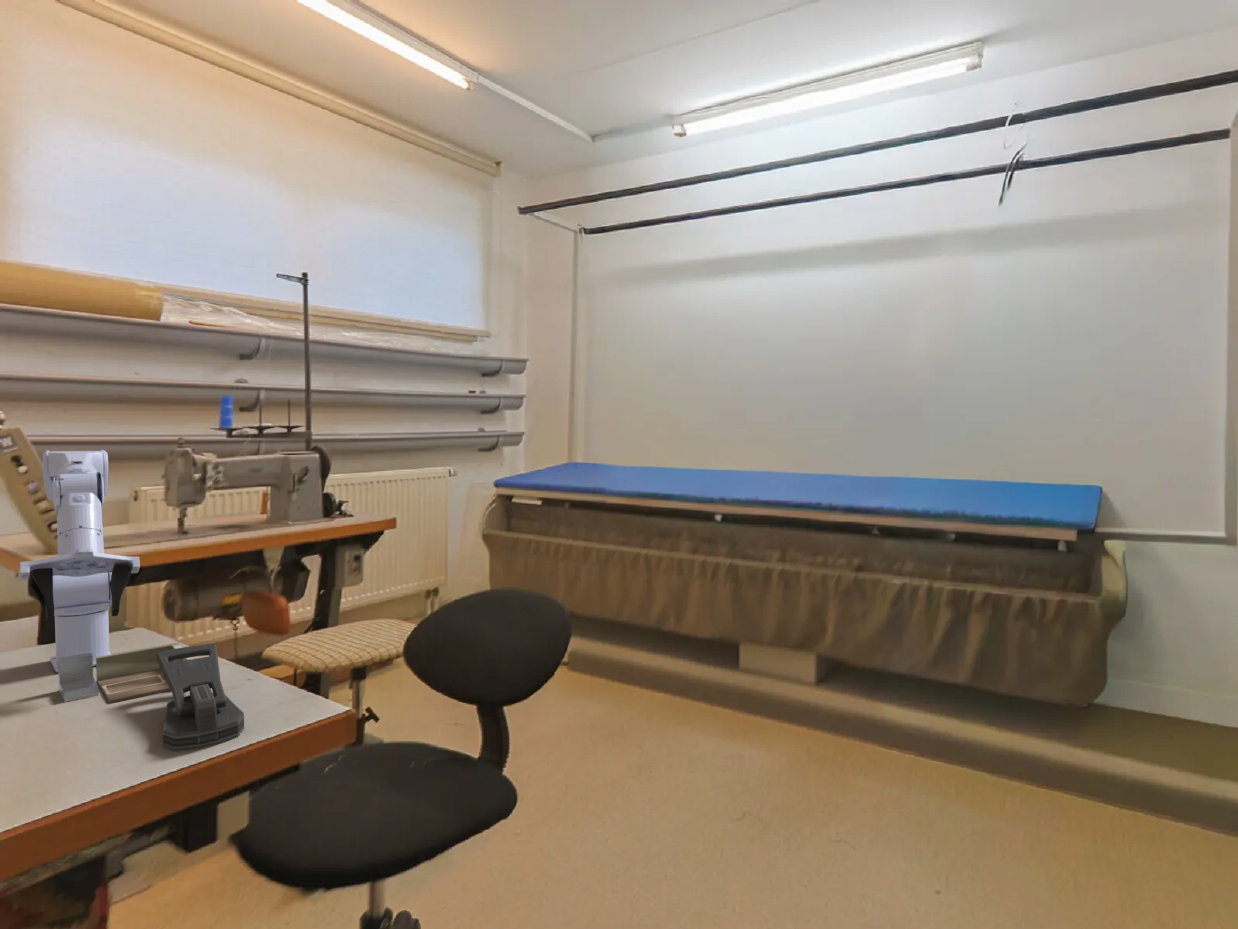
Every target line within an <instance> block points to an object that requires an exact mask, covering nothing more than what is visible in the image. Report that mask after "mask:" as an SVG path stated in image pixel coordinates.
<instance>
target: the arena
mask: <svg viewBox="0 0 1238 929" xmlns="http://www.w3.org/2000/svg"><path fill="white" fill-rule="evenodd" d="M177 648H183V646H181V645H180V643H178V642H174V643H169V644H165V645H164V644H163V645H158V646H153V647H152V646H151V647H145V648H139V649H135V650H130V651H122V652H117V653H111V655H105V656H99V657H96V666H95V667H96V668H95V670H96V683H97V684H98V687H99V688H100V690H101V691H102V693H103V695H104V696H105V698H106V699H107V701H108V702H109V704H114V703H119V702H122V701H123V702H124V701H128V700H133V699H136V698H142V697H146V696H151V695H157V694H160V693H166V692H169V691H170V692H171V690H170V687H169V685H168V683H167V681H166V678H165V676H164V674H163V672H162V670H161V668H160V666H159V663H158V661H157V659H156V654H157V653H159V652H163V651H167V650H172V649H177ZM191 659H196V657H190V658H183V659H177V660H173V661H169V662H170V663H172V662H179V661H185V660H191Z"/></svg>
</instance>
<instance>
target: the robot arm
mask: <svg viewBox="0 0 1238 929" xmlns="http://www.w3.org/2000/svg"><path fill="white" fill-rule="evenodd" d="M108 454H109V453H108V452H107V451H105V449H100V450H61V451H60V450H52V451H51V450H45V451H44V452H43V453H42V475H43V477H42V478H43V482H44V484H43V485H44V493H45V494H46V498H47V499H49V500H50V501H52V503H53V505H54V510H55V516H56V517H55V518H56V527H57V528H56V530H57V531H56V532H57V533H56V536H57V537H56V538H57V555H56V556H51V557H46V558H41V559H36V560H30V561H29V560H27V561H20V562H19V570H18V576H19V577H18V578H19V581H20V580H21V581H23V580H28V588H29V590H30V592H31V593H32V594H33V595H34V596H35V598H36V599H37V600H38V602H39V604H40V606H41V608H42V610H43V612H44V614H45V619H46V623H53V622H54V631H55V632H54V633H55V637H54V638H55V655H54V656H50V658H49V661H50V663H51V665H52V667H53V670H54V671H55V672H56V673H59V672H58V658H62V657H68V656H74V655H80V654H86V653H92V656H93V667H96V657H99V656H105V655H111V654H112V652H111V651H110V629H109V627H110V626H109V623H110V622H109V610H111V611H110V612H111V617H117V616H119V613H120V604H121V599H122V595H123V593H124V591H125V589H126V587H127V585H128V583H129V581H130V578H131V575H132V574H138V573H139V572H140V568H141V564H140V563H141V562H140V556H128V555H127V556H125V555H117V554H112V553H111V554H110V553H105V544H104V527H103V506H104V503H105V497H106V496H107V491H108V490H109V481H108V480H109V455H108ZM110 606H111V608H110Z"/></svg>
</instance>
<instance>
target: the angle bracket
mask: <svg viewBox="0 0 1238 929" xmlns="http://www.w3.org/2000/svg"><path fill="white" fill-rule="evenodd" d="M57 673H58V692H59V691H60V692H59V694H60V696H61V699H62V701H63V702H64V703H68V702H72V701H77V700H83V699H87V698H92V697H96V696H99V684H98V683H97V680H95V678H94V666H93V656H92V653H86V654H80V655H74V656H68V657H62V658H58V672H57Z"/></svg>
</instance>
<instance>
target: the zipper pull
mask: <svg viewBox="0 0 1238 929" xmlns="http://www.w3.org/2000/svg"><path fill="white" fill-rule="evenodd" d="M217 646H218V645H217V644H215V643H214V644H213V643H212V644H211V643H210V644H198V645H191V646H185V647H183V646H182V647H183V648H177V649H172V650H167V651H163V652H159V653H157V654H156V659H157V661H158V663H159V666H160V668H161V670H162V672H163V674H164V676H165V678H166V681H167V683H168V685H169V687H170V692H171V695H172V699H173V700H172V701H169V702H167V704H166V707H165V708H166V710H165V715H164V721H163V722H164V723H163V727H162V747H164V748H166V749H168V750H171V751H173V752H182V751H189V750H197V749H198V750H199V749H201V748H206V747H207V748H208V747H212V746H216V745H220V744H223V743H225V742H228V741H230V740H234V739H237V738H239V737H240V735H241V734H242V732H243V731H244V730H245V713H244V711H243V710H242V709H240V708H239V707H238V706H237V705H236V704H235V703H234V702H233V700H231V699H230V698H229V697H228V695H226V694H225V691H224V687H223V683H222V681H221V672H220V665H219V664H220V663H219V658H218V657H219V656H218V655H219V652H218V647H217ZM190 657H194V658H195V659H191V660H185V661H179V662H172V663H170V662H169V661H173V660H177V659H183V658H190ZM196 657H199V658H196ZM188 692H189V695H186V696H185V695H184V694H185V693H188ZM243 729H244V730H243ZM240 733H241V734H240ZM238 736H239V737H238ZM236 737H237V738H236Z"/></svg>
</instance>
